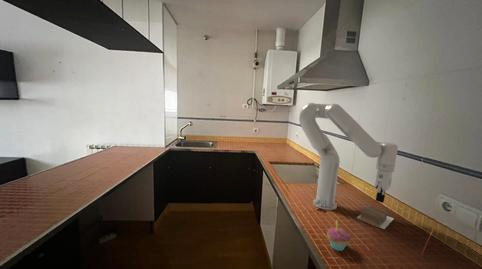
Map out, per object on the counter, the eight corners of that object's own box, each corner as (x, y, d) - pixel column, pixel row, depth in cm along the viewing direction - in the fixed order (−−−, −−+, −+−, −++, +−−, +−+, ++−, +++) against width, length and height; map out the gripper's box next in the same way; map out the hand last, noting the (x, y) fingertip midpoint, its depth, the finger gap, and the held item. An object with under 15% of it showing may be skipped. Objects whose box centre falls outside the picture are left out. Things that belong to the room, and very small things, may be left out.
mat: (384, 230, 94) (384, 229, 94) (356, 218, 103) (356, 217, 103) (393, 219, 104) (393, 218, 104) (367, 209, 113) (367, 208, 113)
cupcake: (338, 256, 75) (341, 226, 74) (320, 242, 83) (323, 214, 81) (354, 251, 79) (358, 222, 77) (335, 237, 86) (339, 211, 85)
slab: (386, 219, 102) (378, 227, 95) (368, 213, 108) (359, 220, 101) (387, 212, 102) (379, 219, 94) (369, 205, 108) (361, 212, 100)
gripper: (389, 171, 95) (383, 208, 97) (398, 166, 105) (392, 200, 107) (371, 167, 101) (366, 202, 103) (381, 163, 110) (376, 195, 113)
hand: (379, 201), depth 105 cm, fingers closed
